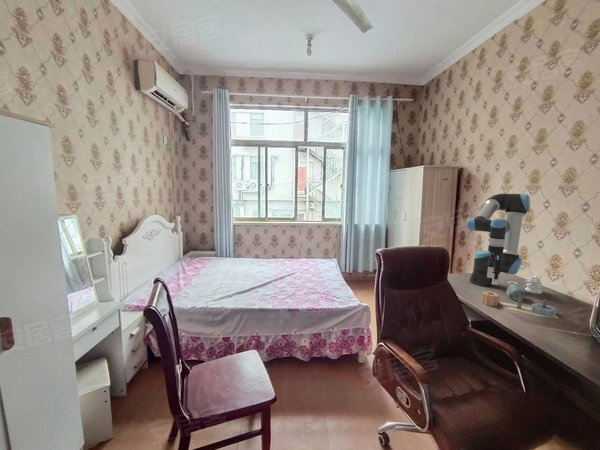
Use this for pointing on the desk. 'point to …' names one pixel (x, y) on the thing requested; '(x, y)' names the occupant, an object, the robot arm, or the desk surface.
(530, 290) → the figurine
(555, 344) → the desk surface
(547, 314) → the gear
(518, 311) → the gear board
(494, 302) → the loose gear
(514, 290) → the spool
